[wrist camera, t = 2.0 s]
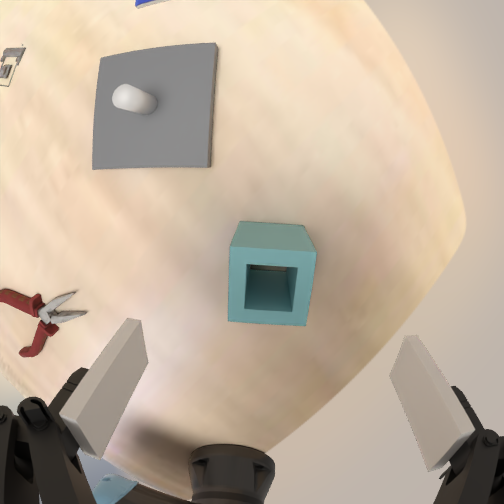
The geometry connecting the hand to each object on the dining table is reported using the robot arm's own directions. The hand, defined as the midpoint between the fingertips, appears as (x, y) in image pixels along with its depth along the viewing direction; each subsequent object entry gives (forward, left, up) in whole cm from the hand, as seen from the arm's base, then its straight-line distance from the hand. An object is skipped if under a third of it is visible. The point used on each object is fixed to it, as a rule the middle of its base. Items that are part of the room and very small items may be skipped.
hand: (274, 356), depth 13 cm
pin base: (+14, +12, -16) cm, 24 cm away
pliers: (-14, +33, -17) cm, 39 cm away
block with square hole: (0, 0, -16) cm, 16 cm away
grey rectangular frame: (+28, +38, -17) cm, 50 cm away
